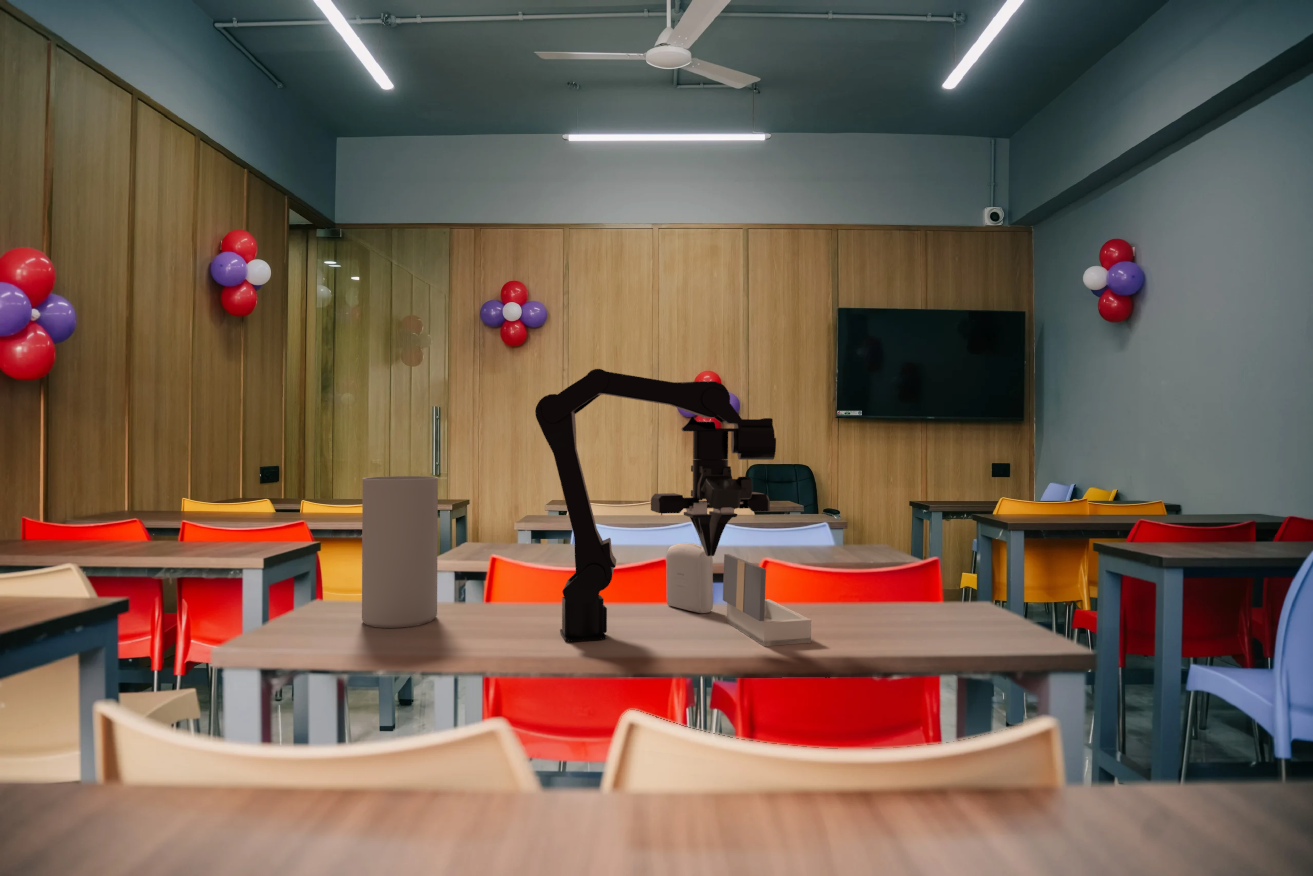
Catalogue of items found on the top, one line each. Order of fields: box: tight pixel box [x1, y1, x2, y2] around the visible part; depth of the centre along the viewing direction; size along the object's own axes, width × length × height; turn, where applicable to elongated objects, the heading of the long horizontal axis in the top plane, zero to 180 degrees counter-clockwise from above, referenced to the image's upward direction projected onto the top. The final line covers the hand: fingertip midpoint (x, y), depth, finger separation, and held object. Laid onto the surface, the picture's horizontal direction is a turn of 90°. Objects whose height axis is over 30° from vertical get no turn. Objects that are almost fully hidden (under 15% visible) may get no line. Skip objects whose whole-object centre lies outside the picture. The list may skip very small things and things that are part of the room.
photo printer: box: [665, 542, 714, 614], centre depth 143 cm, size 10×4×12 cm, turn 39°
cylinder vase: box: [361, 475, 439, 629], centre depth 133 cm, size 12×12×25 cm
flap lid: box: [722, 553, 767, 621], centre depth 125 cm, size 8×16×1 cm
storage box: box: [726, 598, 812, 647], centre depth 126 cm, size 8×16×4 cm, turn 16°
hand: (710, 555), depth 123 cm, fingers closed
